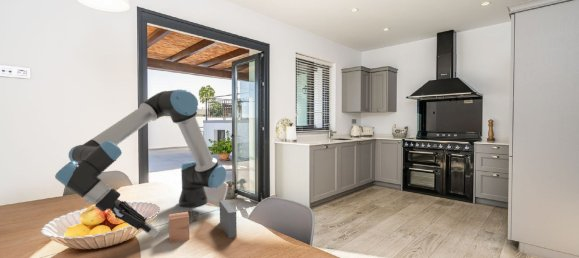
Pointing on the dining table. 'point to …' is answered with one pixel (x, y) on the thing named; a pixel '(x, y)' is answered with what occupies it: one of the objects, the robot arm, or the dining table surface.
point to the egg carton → (193, 215)
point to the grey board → (228, 218)
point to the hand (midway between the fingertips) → (156, 234)
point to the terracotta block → (179, 227)
